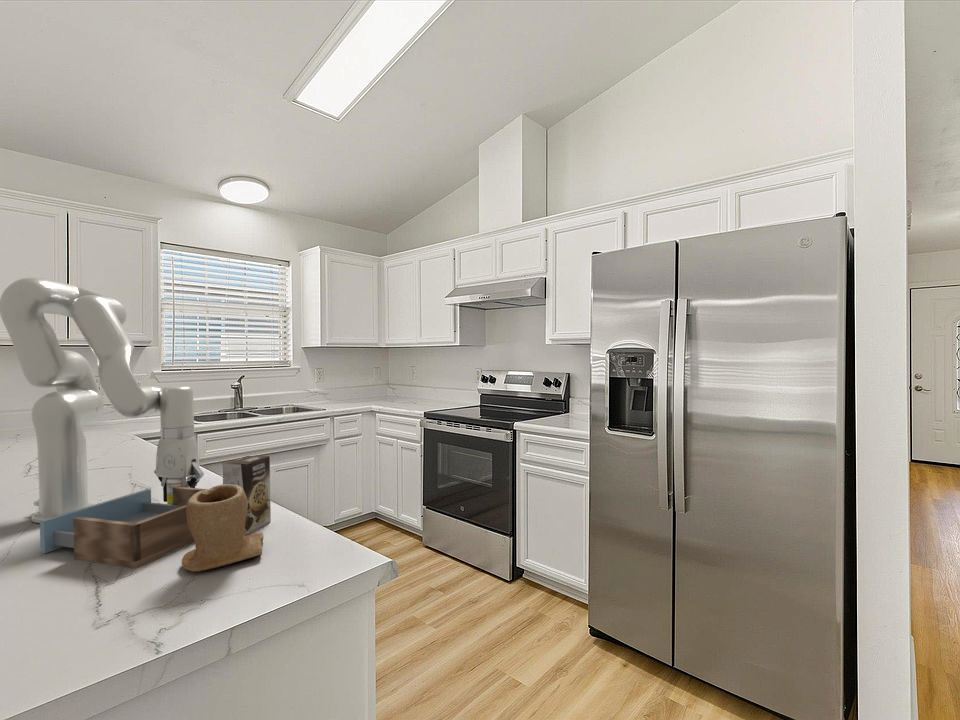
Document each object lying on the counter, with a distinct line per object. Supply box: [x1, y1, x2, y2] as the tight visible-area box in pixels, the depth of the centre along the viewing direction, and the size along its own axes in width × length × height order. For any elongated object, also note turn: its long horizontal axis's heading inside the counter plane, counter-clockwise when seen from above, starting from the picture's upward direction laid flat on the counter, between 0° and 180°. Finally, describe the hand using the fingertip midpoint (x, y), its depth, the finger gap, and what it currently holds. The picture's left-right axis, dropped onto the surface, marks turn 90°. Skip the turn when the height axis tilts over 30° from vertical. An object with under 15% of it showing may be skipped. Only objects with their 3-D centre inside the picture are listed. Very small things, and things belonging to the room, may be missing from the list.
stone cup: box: [181, 484, 264, 572], centre depth 98 cm, size 15×12×15 cm
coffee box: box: [222, 455, 272, 536], centre depth 117 cm, size 9×6×16 cm
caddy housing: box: [73, 487, 209, 569], centre depth 110 cm, size 16×24×8 cm, turn 163°
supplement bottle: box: [166, 478, 190, 505], centre depth 132 cm, size 6×6×10 cm
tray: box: [39, 488, 182, 554], centre depth 112 cm, size 16×24×7 cm, turn 163°
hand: (179, 500), depth 132 cm, fingers open, 5 cm apart
